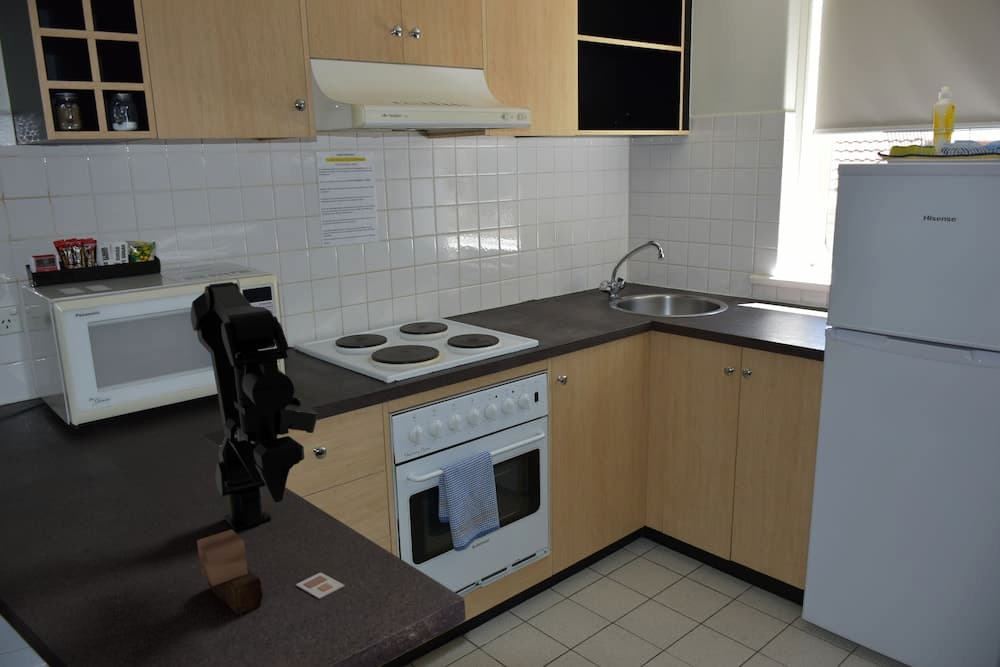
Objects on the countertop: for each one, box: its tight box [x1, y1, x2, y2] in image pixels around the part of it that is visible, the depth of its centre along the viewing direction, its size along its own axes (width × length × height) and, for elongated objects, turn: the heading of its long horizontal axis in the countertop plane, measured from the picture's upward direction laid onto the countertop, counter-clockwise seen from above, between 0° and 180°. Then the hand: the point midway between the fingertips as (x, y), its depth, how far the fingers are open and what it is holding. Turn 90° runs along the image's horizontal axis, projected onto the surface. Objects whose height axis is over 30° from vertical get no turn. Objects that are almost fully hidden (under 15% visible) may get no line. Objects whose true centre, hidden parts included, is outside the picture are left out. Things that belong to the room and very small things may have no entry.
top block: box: [196, 529, 248, 586], centre depth 109 cm, size 5×5×5 cm
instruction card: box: [295, 572, 346, 600], centre depth 113 cm, size 6×4×1 cm
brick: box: [207, 567, 264, 616], centre depth 111 cm, size 11×4×5 cm, turn 42°
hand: (267, 491), depth 118 cm, fingers open, 9 cm apart
